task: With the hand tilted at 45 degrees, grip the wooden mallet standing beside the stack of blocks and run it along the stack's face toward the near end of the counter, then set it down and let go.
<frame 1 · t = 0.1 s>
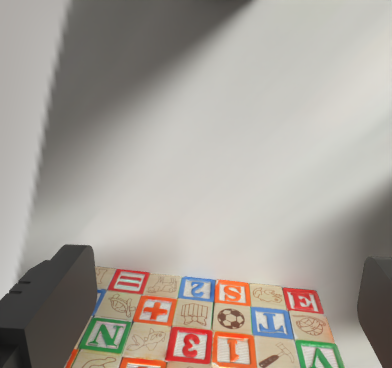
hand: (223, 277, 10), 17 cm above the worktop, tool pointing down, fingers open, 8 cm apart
stack of blocks: (197, 301, 33), on the worktop
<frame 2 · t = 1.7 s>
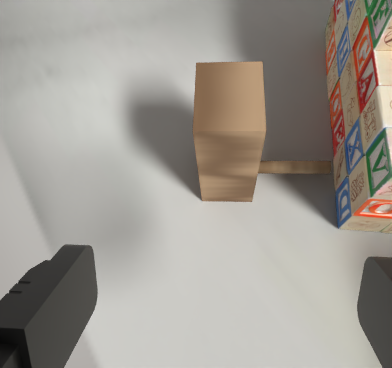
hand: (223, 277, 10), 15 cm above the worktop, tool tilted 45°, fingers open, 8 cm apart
stack of blocks: (364, 119, 31), on the worktop
wooden mallet: (226, 173, 29), on the worktop
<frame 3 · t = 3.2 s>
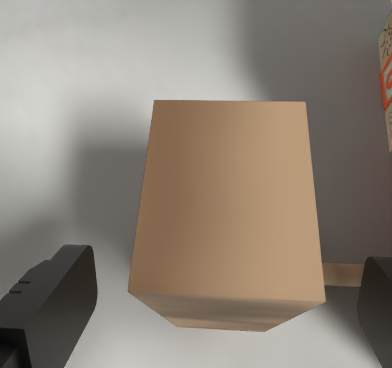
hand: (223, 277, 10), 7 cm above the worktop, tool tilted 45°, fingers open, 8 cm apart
wooden mallet: (221, 274, 17), on the worktop
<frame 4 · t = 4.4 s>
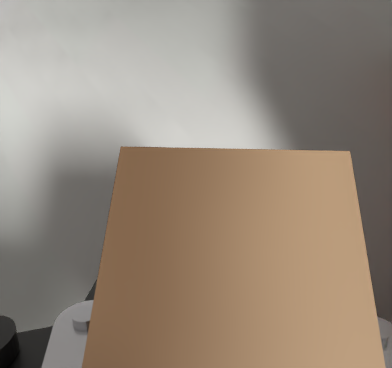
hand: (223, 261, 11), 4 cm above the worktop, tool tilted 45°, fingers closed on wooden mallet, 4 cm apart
wooden mallet: (221, 334, 14), on the worktop, touching gripper
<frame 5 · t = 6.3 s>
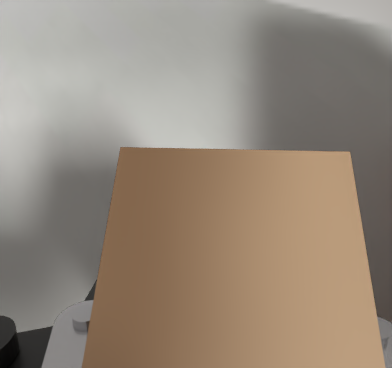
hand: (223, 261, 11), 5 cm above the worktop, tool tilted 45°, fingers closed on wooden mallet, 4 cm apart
wooden mallet: (221, 335, 14), point 1 cm above the worktop, touching gripper
when the fingers open (4 cm above the worktop, at t = 8.2 s): wooden mallet stays where it is, on the worktop.
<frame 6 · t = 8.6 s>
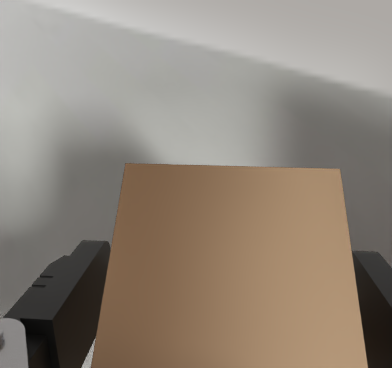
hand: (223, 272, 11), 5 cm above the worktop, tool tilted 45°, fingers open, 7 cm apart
wooden mallet: (220, 336, 14), on the worktop
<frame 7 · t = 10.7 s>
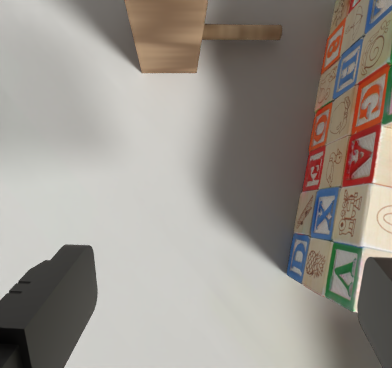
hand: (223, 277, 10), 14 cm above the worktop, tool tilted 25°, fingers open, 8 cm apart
stack of blocks: (348, 141, 26), on the worktop
wooden mallet: (168, 40, 26), on the worktop
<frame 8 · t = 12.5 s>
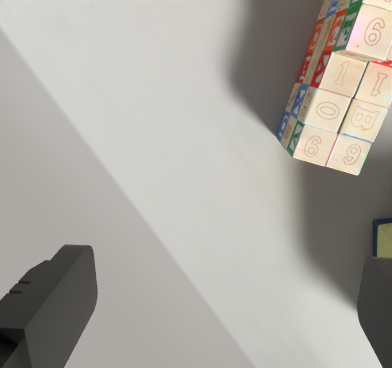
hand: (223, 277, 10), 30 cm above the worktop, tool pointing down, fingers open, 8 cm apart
stack of blocks: (338, 46, 36), on the worktop
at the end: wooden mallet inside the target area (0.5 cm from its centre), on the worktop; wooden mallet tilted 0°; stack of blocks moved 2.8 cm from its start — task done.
